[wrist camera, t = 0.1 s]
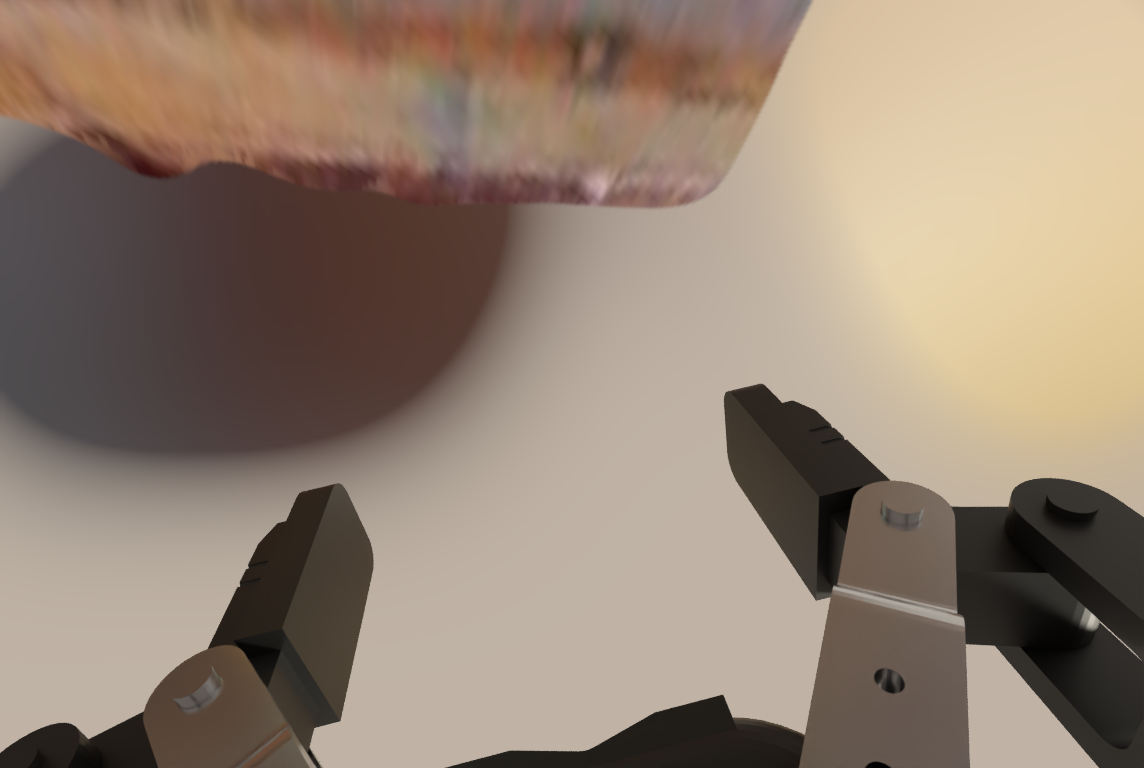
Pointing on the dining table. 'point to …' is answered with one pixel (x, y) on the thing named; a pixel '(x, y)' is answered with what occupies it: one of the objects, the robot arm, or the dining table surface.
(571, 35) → the dining table surface
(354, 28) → the dining table surface
